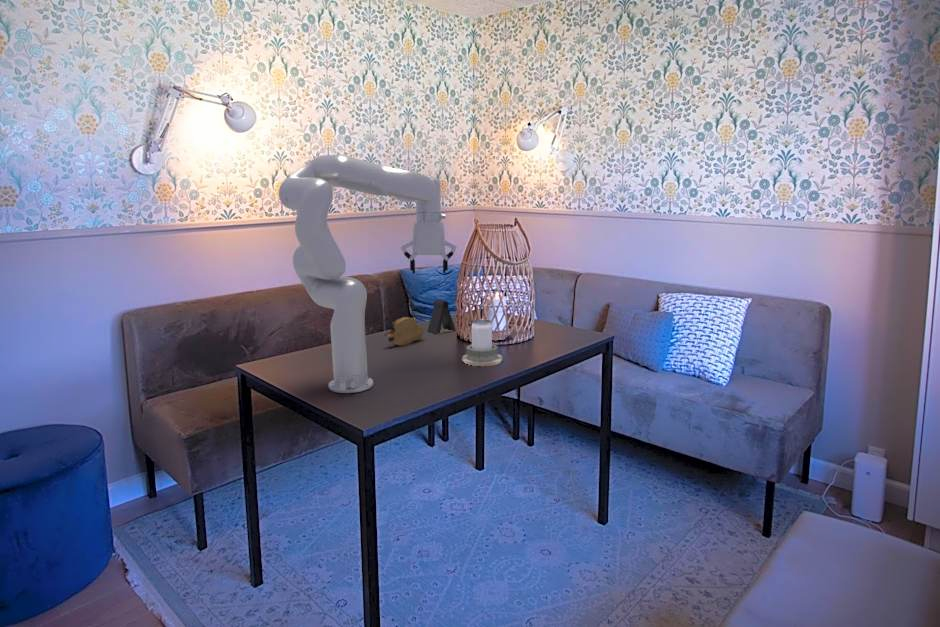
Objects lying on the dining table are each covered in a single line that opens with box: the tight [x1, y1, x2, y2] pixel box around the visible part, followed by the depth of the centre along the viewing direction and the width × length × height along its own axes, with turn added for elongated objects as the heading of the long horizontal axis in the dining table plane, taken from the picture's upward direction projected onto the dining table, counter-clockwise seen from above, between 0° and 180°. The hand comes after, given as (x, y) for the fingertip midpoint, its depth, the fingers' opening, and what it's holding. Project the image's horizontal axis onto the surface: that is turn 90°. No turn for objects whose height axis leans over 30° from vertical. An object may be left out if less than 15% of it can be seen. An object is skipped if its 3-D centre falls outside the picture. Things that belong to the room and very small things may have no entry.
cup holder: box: [461, 343, 503, 368], centre depth 205 cm, size 13×13×4 cm
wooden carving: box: [384, 316, 425, 347], centre depth 225 cm, size 16×5×10 cm, turn 139°
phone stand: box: [427, 299, 456, 334], centre depth 243 cm, size 9×6×12 cm, turn 126°
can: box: [471, 318, 493, 351], centre depth 204 cm, size 6×6×12 cm
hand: (429, 272), depth 201 cm, fingers open, 9 cm apart
